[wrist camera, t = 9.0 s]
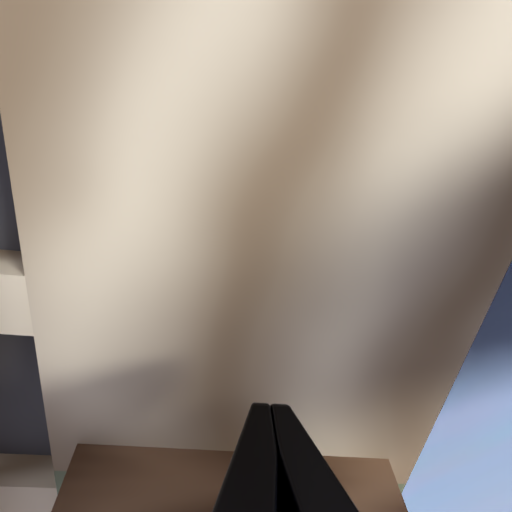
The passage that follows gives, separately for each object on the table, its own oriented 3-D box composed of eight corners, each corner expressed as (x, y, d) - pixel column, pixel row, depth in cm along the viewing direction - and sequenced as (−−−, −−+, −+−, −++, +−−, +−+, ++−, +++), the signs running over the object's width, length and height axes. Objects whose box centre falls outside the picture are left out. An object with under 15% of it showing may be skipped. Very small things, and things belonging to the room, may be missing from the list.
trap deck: (602, -47, 9) (663, -61, 8) (362, 519, 20) (372, 554, 18) (-416, -236, 7) (-559, -296, 6) (-94, 507, 17) (-121, 545, 16)
